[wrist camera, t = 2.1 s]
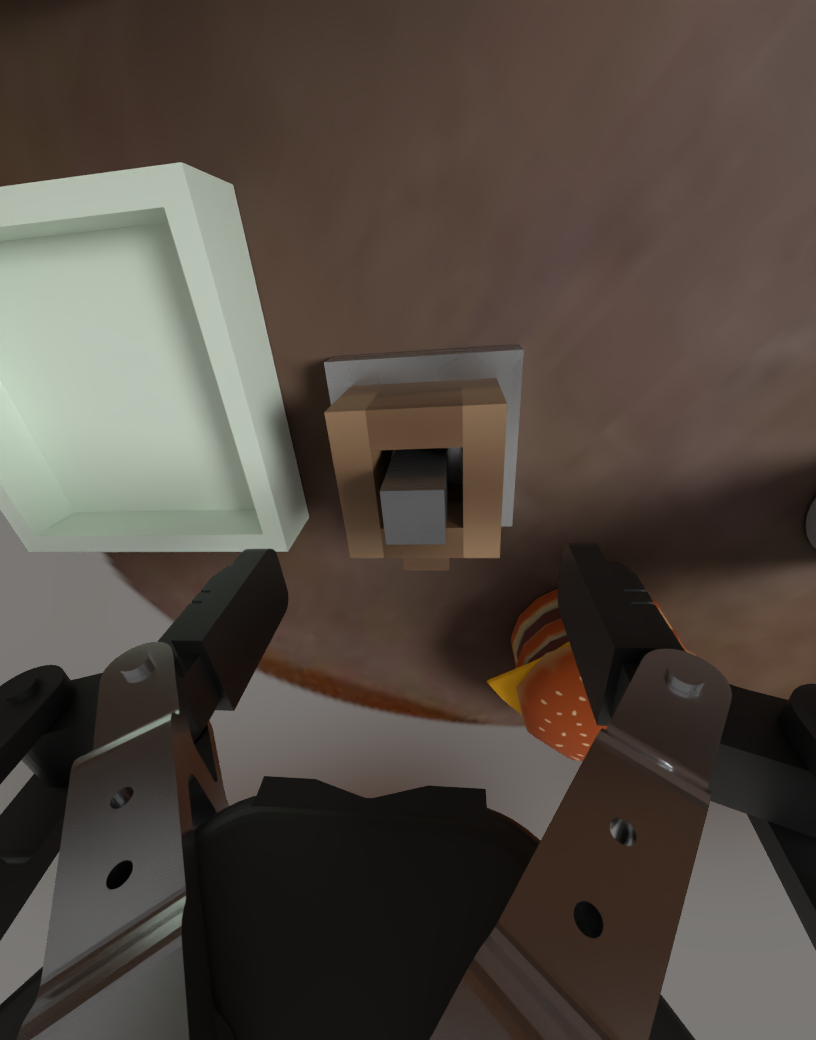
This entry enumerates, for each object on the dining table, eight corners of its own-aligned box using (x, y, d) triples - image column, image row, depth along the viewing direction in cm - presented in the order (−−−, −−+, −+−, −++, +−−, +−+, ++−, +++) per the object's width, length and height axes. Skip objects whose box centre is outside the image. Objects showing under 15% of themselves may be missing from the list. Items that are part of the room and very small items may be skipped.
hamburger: (574, 703, 28) (604, 810, 22) (476, 631, 26) (481, 731, 20) (705, 638, 24) (782, 749, 18) (603, 544, 21) (655, 639, 16)
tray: (-88, 225, 17) (-198, 213, 14) (233, 184, 15) (181, 162, 12) (78, 520, 24) (28, 552, 21) (309, 517, 22) (288, 551, 19)
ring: (350, 385, 17) (324, 412, 13) (496, 377, 16) (507, 403, 13) (371, 534, 21) (355, 584, 17) (491, 533, 20) (498, 586, 16)
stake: (333, 356, 18) (263, 398, 11) (518, 344, 17) (557, 382, 10) (357, 513, 22) (316, 609, 15) (508, 511, 21) (532, 613, 14)
